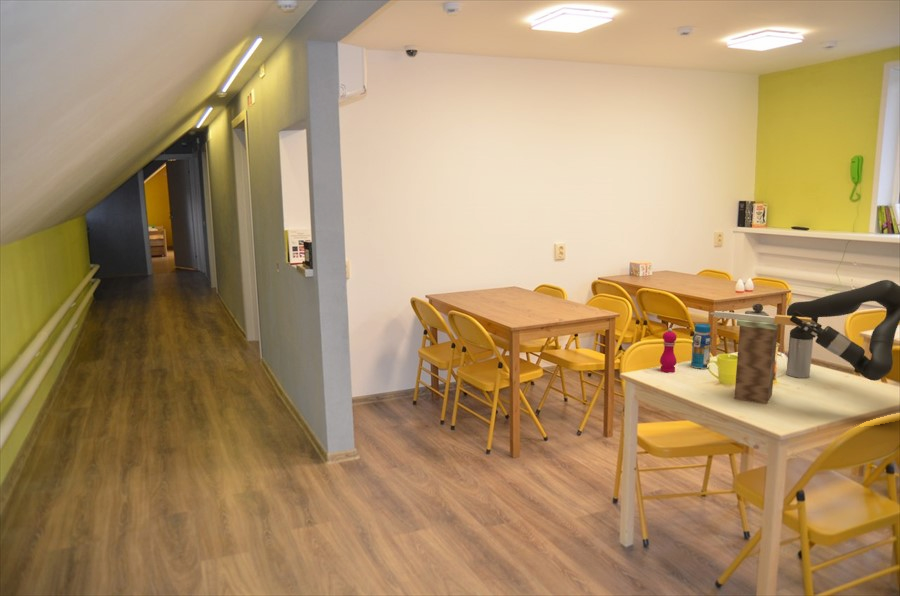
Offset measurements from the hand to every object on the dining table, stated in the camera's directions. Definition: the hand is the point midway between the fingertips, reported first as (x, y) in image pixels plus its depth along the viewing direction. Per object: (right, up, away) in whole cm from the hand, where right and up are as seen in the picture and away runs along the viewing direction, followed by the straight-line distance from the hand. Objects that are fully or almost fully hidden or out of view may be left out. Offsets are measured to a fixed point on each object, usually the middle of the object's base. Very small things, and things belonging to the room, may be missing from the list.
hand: (792, 315), depth 248 cm
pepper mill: (-30, -27, +52) cm, 66 cm away
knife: (-10, -2, +7) cm, 12 cm away
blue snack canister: (-13, -26, +58) cm, 65 cm away
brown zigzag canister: (-7, -33, +17) cm, 38 cm away
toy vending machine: (+17, -24, +68) cm, 74 cm away
